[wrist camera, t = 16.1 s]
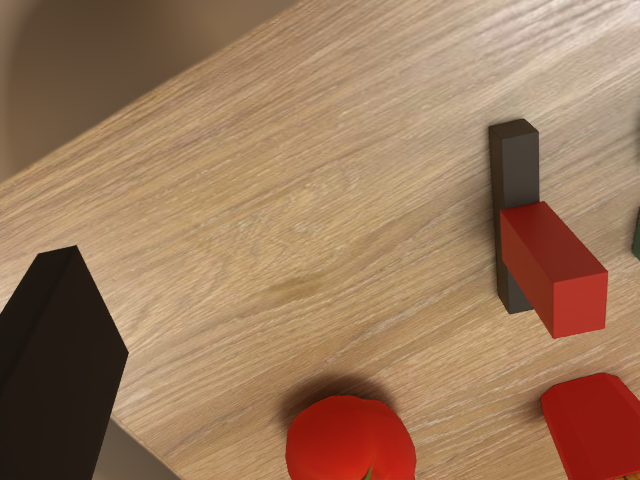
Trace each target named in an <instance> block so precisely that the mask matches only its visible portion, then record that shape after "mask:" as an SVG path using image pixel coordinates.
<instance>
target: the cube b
mask: <svg viewBox="0 0 640 480" xmlns="http://www.w3.org/2000/svg"><path fill="white" fill-rule="evenodd" d="M632 253H633V254H634V255H635V256H636V257H637V258H638V259H639V260H640V210H639V216H638V222H637V228H636V233H635V239H634V245H633V251H632Z"/></svg>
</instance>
